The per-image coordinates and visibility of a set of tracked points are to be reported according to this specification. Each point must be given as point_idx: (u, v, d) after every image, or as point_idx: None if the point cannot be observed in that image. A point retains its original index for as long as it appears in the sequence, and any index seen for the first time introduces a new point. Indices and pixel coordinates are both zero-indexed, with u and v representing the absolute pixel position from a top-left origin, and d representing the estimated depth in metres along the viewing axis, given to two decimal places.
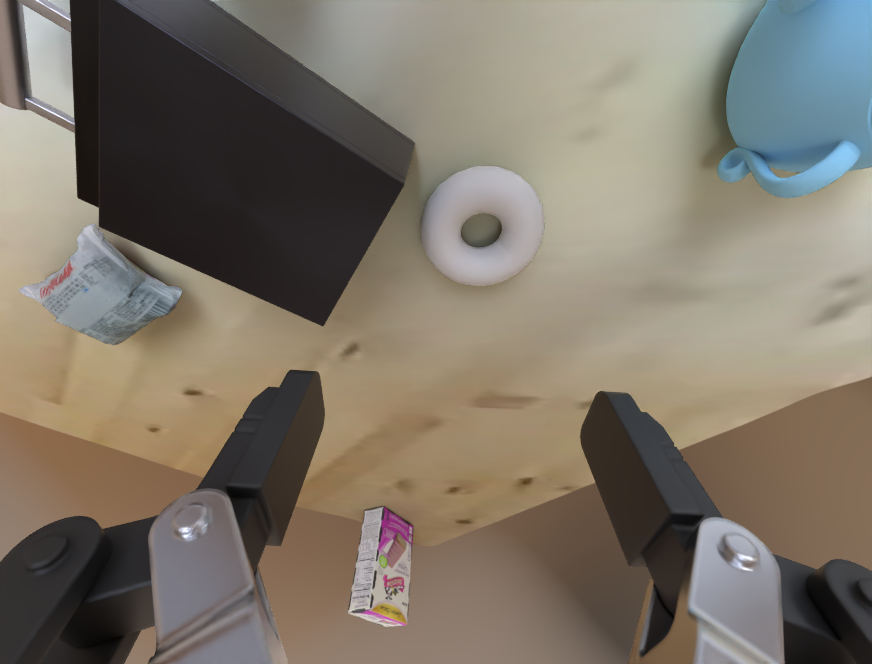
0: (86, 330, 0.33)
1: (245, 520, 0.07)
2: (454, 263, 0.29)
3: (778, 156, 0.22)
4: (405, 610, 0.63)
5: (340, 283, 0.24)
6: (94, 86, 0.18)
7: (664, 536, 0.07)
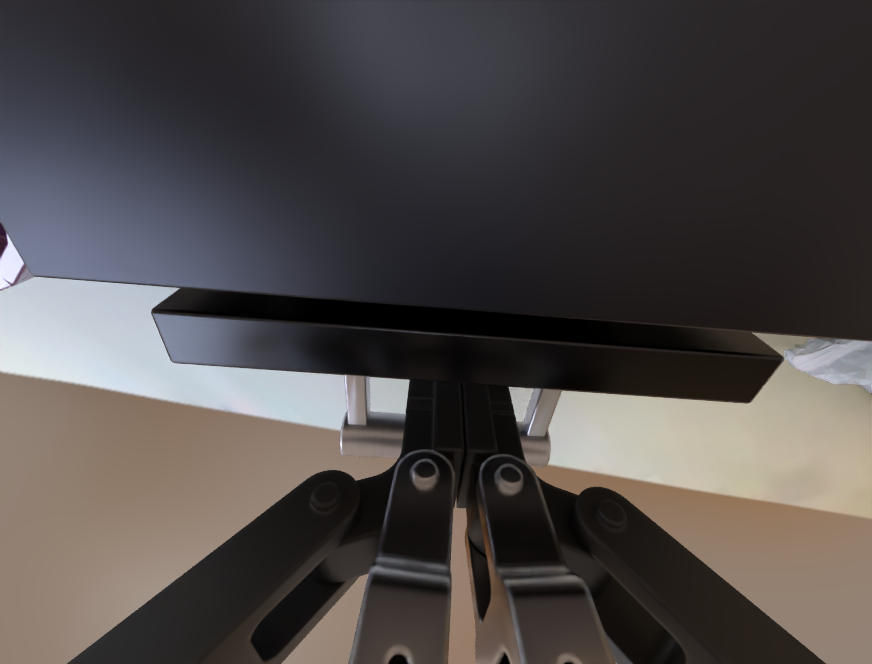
0: None
1: None
2: None
3: None
4: None
5: None
6: (385, 339, 0.06)
7: (470, 474, 0.08)
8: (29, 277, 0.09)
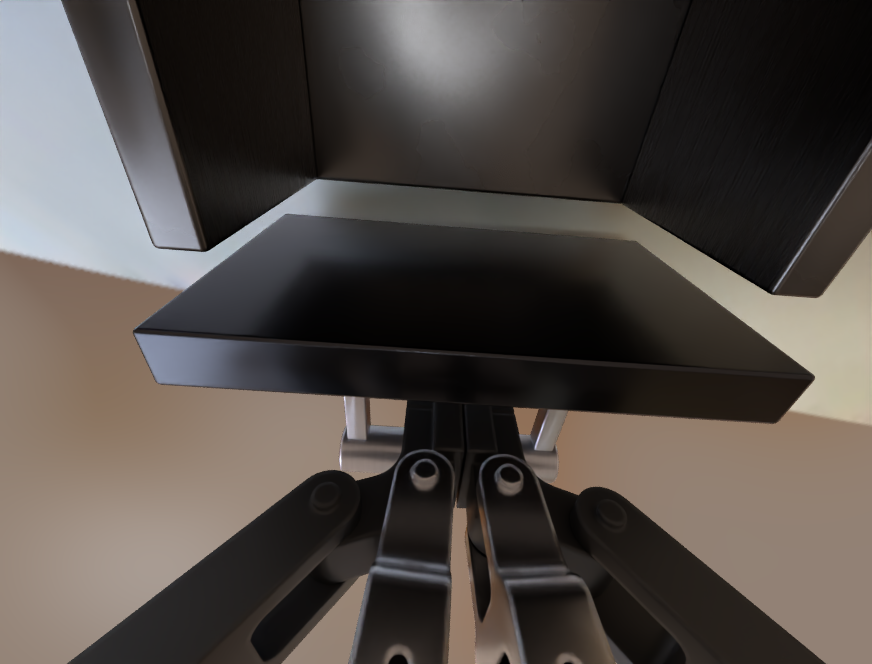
0: None
1: None
2: None
3: None
4: None
5: None
6: (383, 359, 0.06)
7: (470, 474, 0.08)
8: None
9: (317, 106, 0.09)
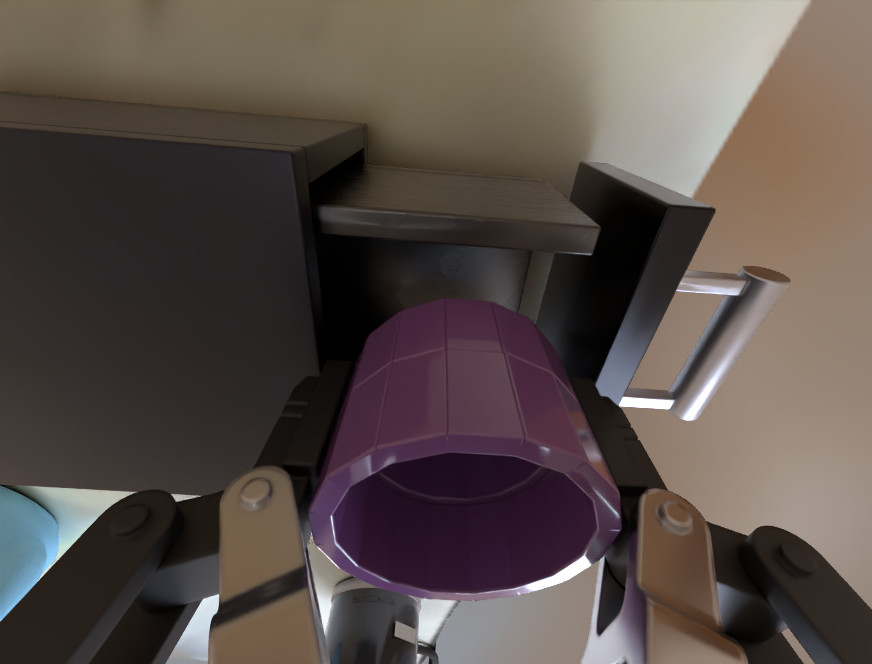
0: None
1: (301, 496, 0.07)
2: None
3: None
4: None
5: None
6: None
7: None
8: (610, 473, 0.07)
9: None
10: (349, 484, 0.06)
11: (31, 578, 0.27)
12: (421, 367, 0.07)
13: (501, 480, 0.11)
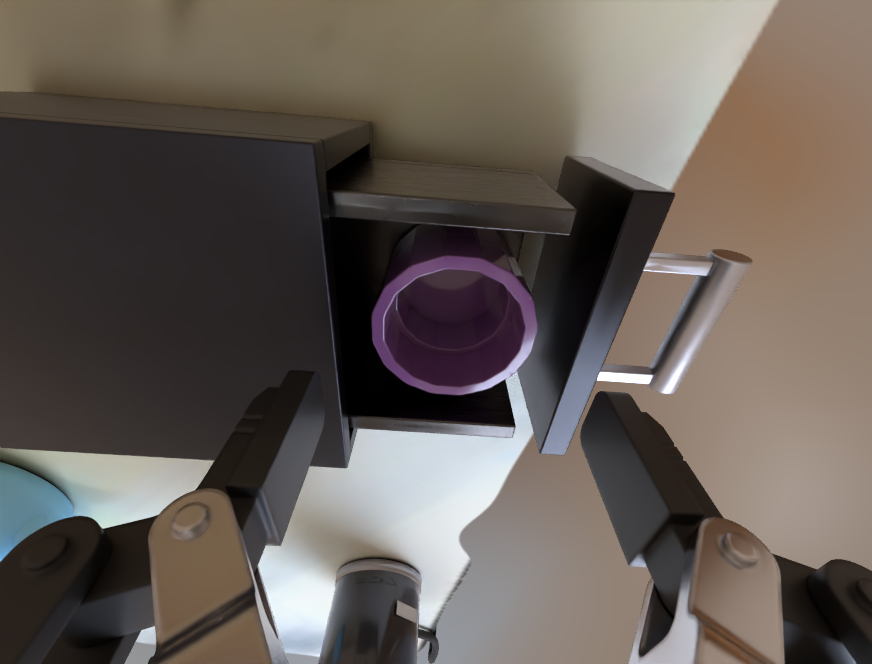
0: None
1: (245, 520, 0.07)
2: None
3: None
4: None
5: None
6: (569, 388, 0.14)
7: (664, 536, 0.07)
8: (529, 292, 0.13)
9: None
10: (395, 291, 0.12)
11: None
12: (431, 241, 0.13)
13: (479, 338, 0.17)
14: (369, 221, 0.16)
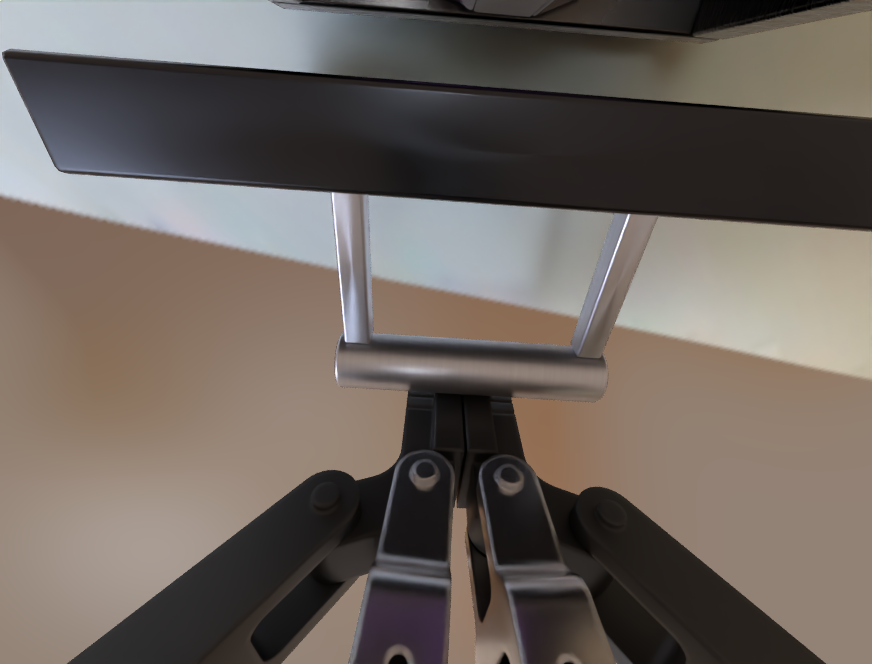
0: None
1: None
2: None
3: None
4: None
5: None
6: (393, 106, 0.04)
7: (470, 474, 0.08)
8: None
9: None
10: None
11: None
12: None
13: None
14: None
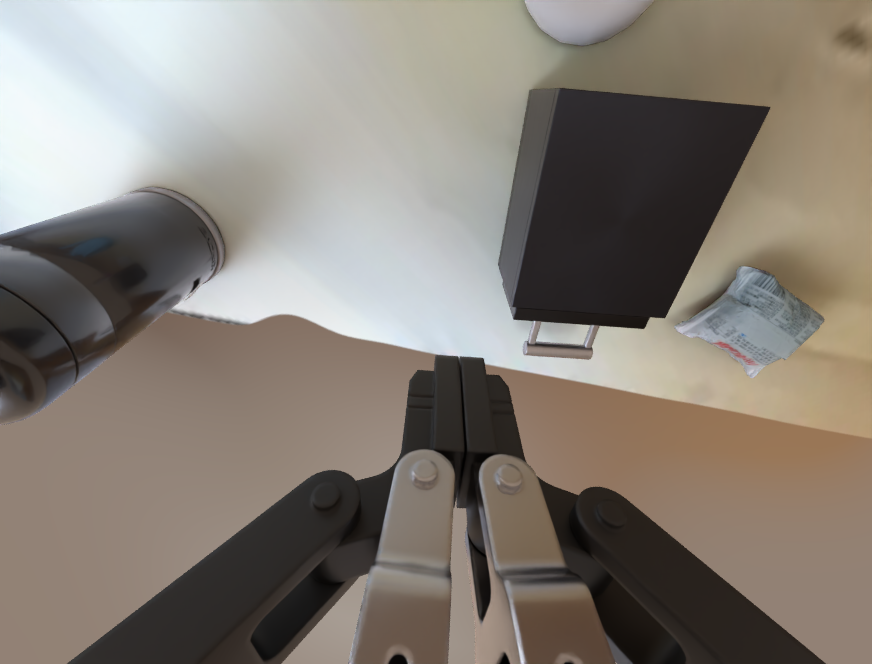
0: (798, 339, 0.35)
1: None
2: None
3: None
4: None
5: (694, 109, 0.21)
6: (563, 313, 0.30)
7: (470, 474, 0.08)
8: None
9: None
10: None
11: None
12: None
13: None
14: None
